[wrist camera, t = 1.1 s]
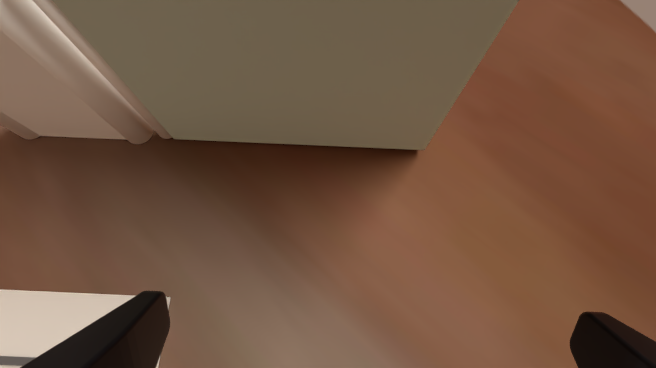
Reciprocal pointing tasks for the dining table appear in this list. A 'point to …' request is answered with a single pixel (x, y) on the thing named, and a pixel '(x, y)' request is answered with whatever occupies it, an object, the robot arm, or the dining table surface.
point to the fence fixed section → (56, 84)
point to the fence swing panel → (286, 64)
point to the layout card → (47, 320)
